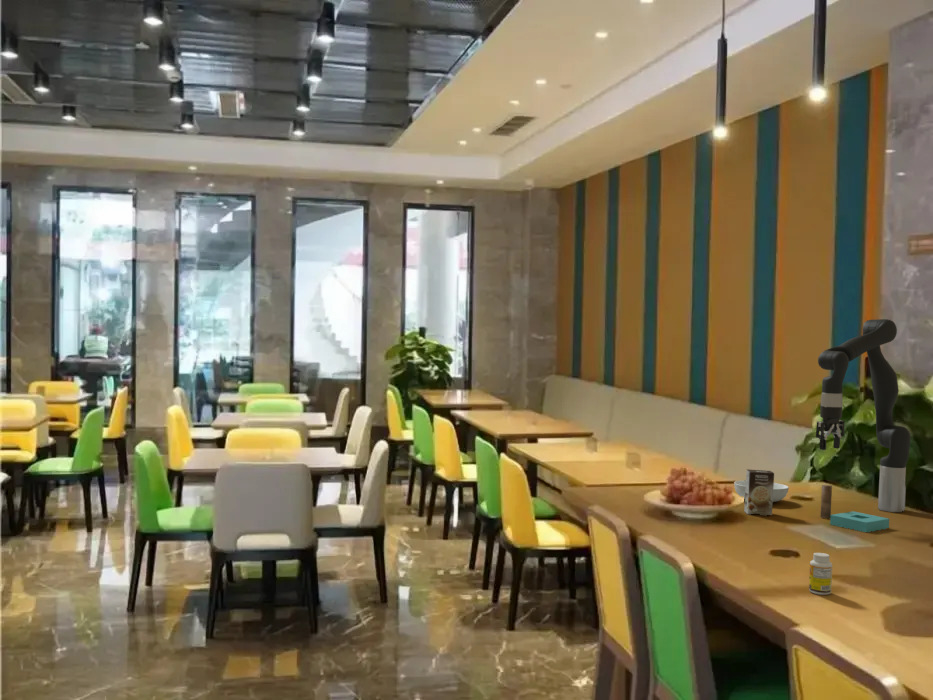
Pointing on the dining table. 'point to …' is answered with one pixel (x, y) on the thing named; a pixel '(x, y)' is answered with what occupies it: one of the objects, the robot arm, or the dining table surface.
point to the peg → (826, 501)
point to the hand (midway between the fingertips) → (829, 449)
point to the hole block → (859, 521)
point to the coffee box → (759, 492)
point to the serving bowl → (778, 490)
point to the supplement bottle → (820, 574)
